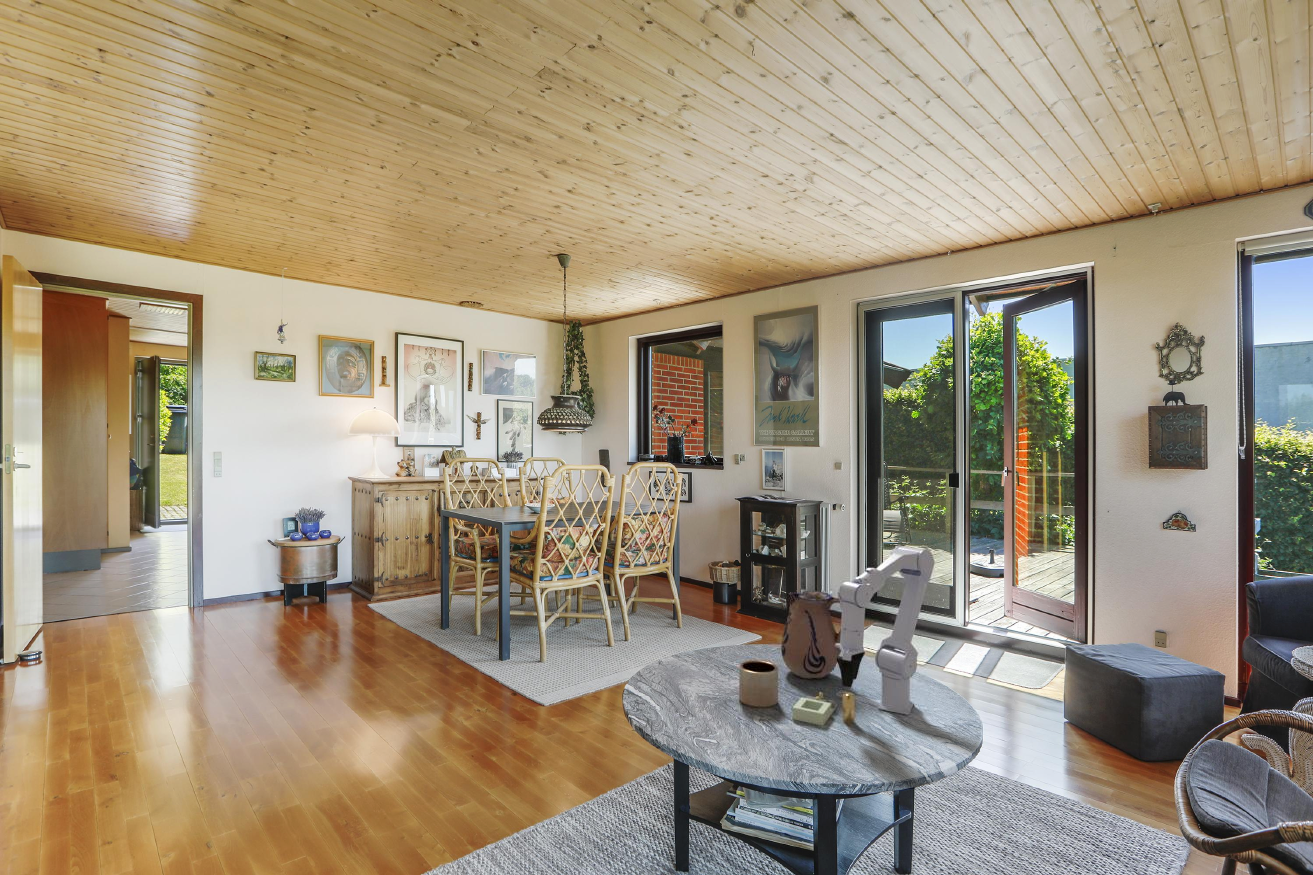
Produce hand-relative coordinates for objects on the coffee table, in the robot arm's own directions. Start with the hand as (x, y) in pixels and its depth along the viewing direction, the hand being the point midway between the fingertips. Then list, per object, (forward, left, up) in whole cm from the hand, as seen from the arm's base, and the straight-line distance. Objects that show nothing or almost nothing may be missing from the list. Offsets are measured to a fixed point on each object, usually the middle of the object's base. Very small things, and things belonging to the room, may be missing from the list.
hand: (849, 682), depth 165 cm
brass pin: (0, 0, -10) cm, 10 cm away
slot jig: (-1, -9, -10) cm, 14 cm away
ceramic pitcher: (-30, -17, -10) cm, 36 cm away
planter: (-1, -25, -11) cm, 27 cm away
